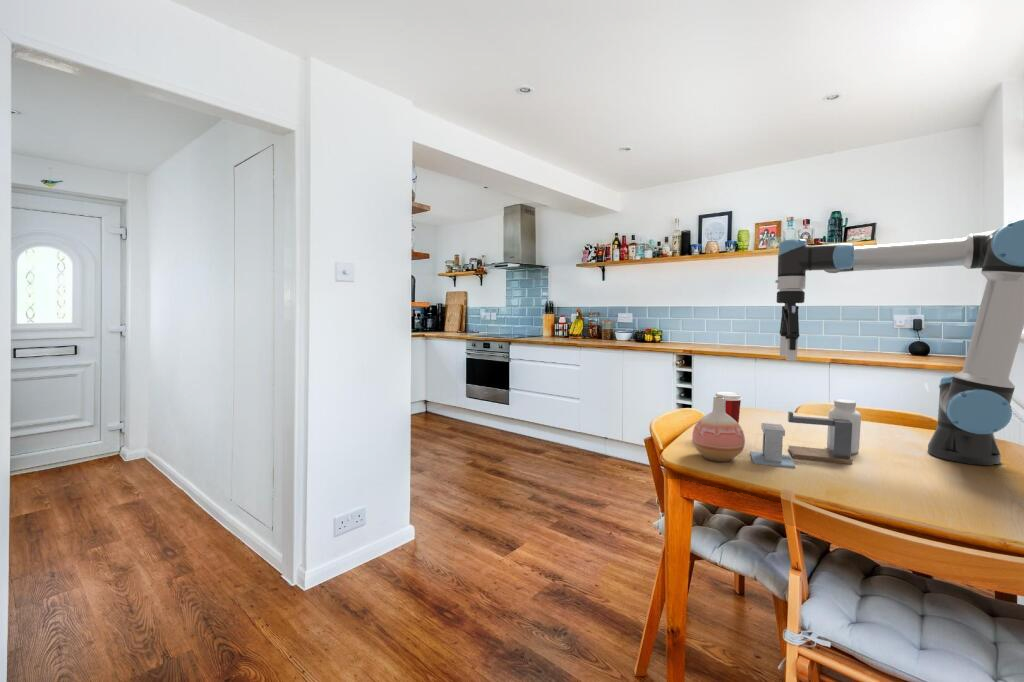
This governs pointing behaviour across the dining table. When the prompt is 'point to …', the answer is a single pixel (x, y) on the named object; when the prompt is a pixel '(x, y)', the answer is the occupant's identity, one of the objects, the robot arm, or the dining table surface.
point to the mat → (759, 459)
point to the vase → (718, 434)
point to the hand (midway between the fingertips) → (787, 358)
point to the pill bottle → (847, 411)
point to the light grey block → (772, 442)
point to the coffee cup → (731, 404)
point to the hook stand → (838, 440)
